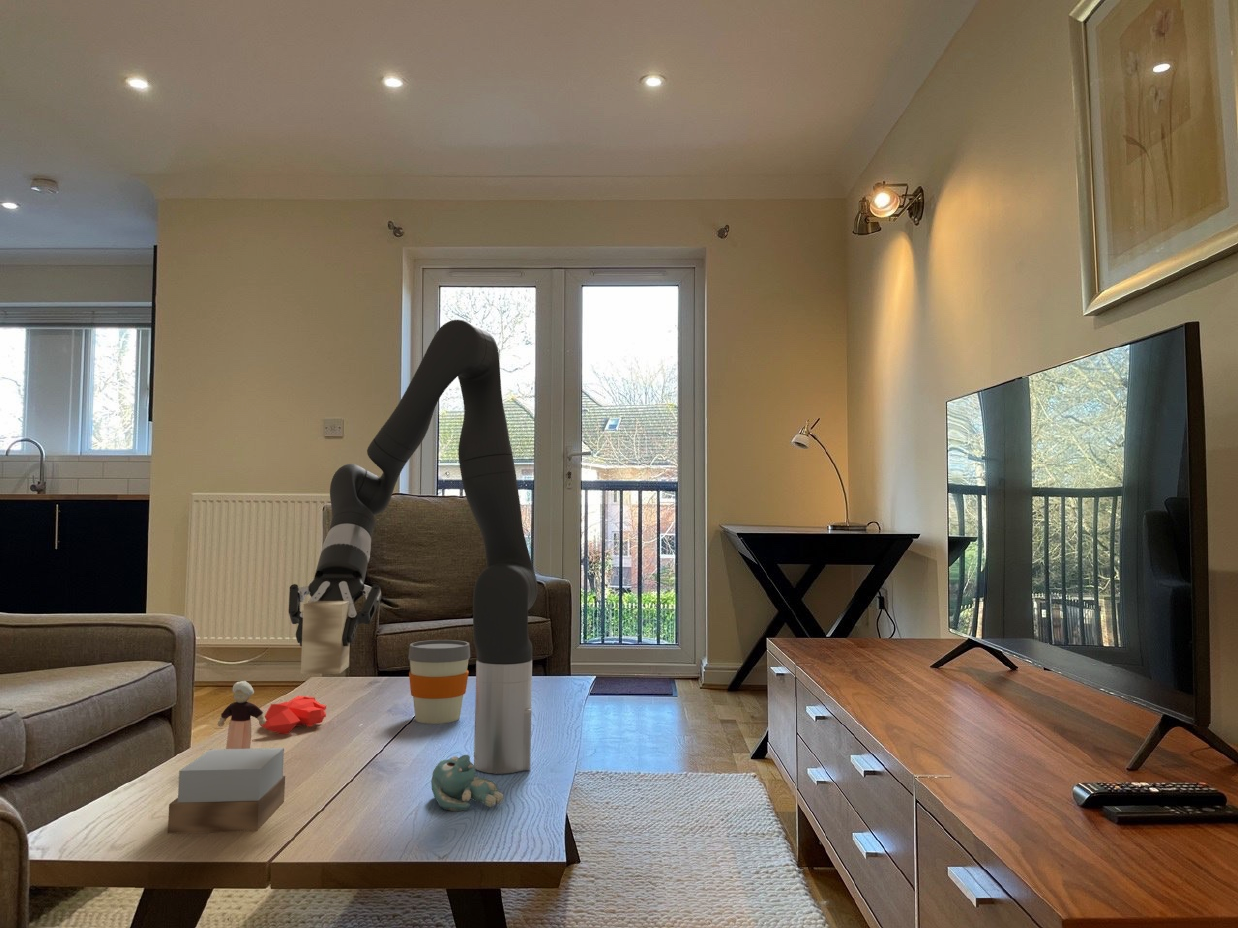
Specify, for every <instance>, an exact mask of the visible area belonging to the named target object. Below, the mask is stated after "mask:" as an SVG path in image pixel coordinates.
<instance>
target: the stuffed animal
mask: <svg viewBox="0 0 1238 928" xmlns="http://www.w3.org/2000/svg"><path fill="white" fill-rule="evenodd" d="M470 758H471V756H470V755H468V754H462V755H461V756H460V757H459V756H451V757H450V758H448V759H443V760H440V761H439V762H438V763H437V765H436V766H435V767H434V769H433V771H432V775H431V779H430V782H431V783H430V785H431V790H432V791H431V792H432V794H433V796H434V798H435V800H436V802H437V804H438V805H439V806H440V807H441V809H444V810H447V811H452V812H460V811H464V810H465V811H468V810H469V809H470V803H469V802H470V801H471V799H472V801H474V802H478V803H483V804H484V805H485V806H487V807H489V808H492V807H494V806H495V805H496V804H498V805H499V804H501V803H502V802H503V799H504V794H503V793H502V792H499V787H498V784H497V783H496V782H495V781H494V780H491V779H490V778H489V779H488V778H487V777H486V778H485V777H481V776H476V769H475V766H474V763H473V762H471V759H470Z"/></svg>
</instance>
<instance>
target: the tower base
mask: <svg viewBox="0 0 1238 928" xmlns="http://www.w3.org/2000/svg"><path fill="white" fill-rule="evenodd" d="M285 789H286V776H285V775H283V777H282V778H281V779H280V780H279V781H278V782H277V783H276V784H275V785H274V786H273V787H272V788H271V789H270V790H269V791H268V792H267V793H266V794H265V795H264V796H263V797H262V798H261V799H260V800H259V801H225V802H187V803H178V797H177V798H175V799H174V800H172V802H170V803H168V820H167V834H191V833H194V834H196V833H197V834H198V833H229V832H230V833H233V832H234V833H235V832H258V831H259V830H260V829H261V828H262V827H263V825H264V824H265V823H266V822H268V820H270V818H271V817H272V816H273V815H274V814H275V812H276V811H277V810H278V809H279V808H280V807H281V806H282V805H283V804H284V803H285V794H286V793H285V792H286V791H285Z"/></svg>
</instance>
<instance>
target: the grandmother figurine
mask: <svg viewBox="0 0 1238 928" xmlns="http://www.w3.org/2000/svg"><path fill="white" fill-rule="evenodd" d="M232 693H233V700H234V701H233V702H231V703H230V704H229V705H227V706H226V707H225V709H224V710H223V712H222V713H221V715H220V717H219V721H218V722H217V726H218V727H223V726H224V725H225V722H226V721H227V720H228V719H229V717H230V720H229V723H228V729H227V738H226V747H225V749H251V742H252V719H251V717H252V718H255V719H257V720H258V723H259V726H260V725H264V724H265V722H266V721H267V720H266V719H265V715H264V711H263V710H262V709H260V707H258V706H257V705H256V704H254V703H252V702H250V701H249V699H250V697H251V696H252V695H254V693H255V691H254V688H253V687H252V685H251V683H249V682H247V681H246V680H242V681H237V682H235V683H234V684H233V686H232Z"/></svg>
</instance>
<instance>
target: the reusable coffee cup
mask: <svg viewBox="0 0 1238 928" xmlns="http://www.w3.org/2000/svg"><path fill="white" fill-rule="evenodd" d="M470 658H471V647H470V642H467V641H464V640H458V639H457V640H456V639H455V640H454V639H432V640H431V639H430V640H429V639H428V640H422V641H421V640H420V641H416V642H411V643H410V644H409V649H408V657H407V659H408V660H409V666H410V670H409V672H408V675H409V676H408V677H409V688H410V695H411V696H412V698H413V700H412V701H413V707H414V719H415V721H416V722H418V723H423V724H434V725H436V724H438V725H439V724H448V723H453V722H455V721H456V722H457V721H459V719H460V718H461V714H462V711H461V710H462V705H463V700H464V699H463V698H464V695H465V694H466V693H467V686H468V678H469V670H468V666H469V665H468V664H469V659H470Z"/></svg>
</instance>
